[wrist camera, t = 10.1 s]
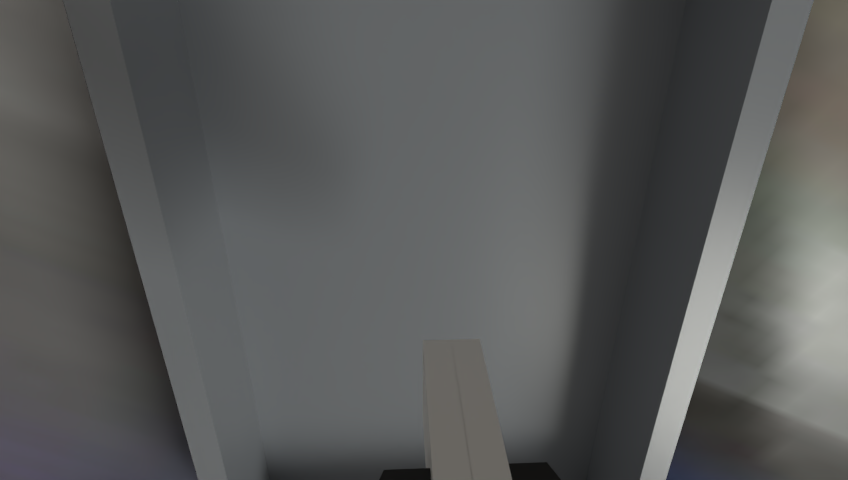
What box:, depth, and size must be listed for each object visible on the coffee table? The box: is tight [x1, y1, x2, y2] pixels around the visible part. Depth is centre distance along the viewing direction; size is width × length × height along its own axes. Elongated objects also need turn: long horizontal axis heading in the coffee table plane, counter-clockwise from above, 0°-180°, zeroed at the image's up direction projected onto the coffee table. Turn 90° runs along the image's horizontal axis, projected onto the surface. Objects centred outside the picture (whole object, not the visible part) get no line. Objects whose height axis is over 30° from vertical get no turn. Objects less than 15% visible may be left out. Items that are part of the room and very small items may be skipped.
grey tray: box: [63, 0, 814, 480], centre depth 18 cm, size 17×26×4 cm, turn 0°
